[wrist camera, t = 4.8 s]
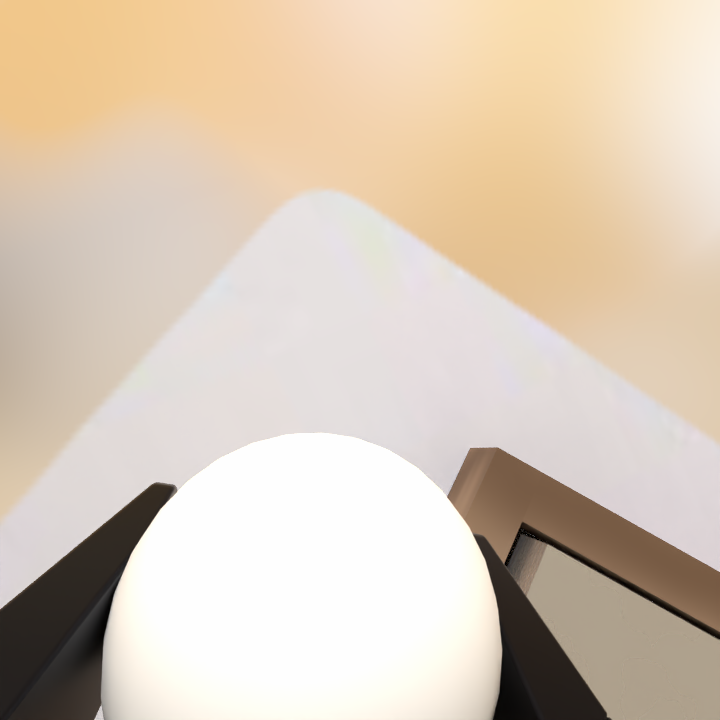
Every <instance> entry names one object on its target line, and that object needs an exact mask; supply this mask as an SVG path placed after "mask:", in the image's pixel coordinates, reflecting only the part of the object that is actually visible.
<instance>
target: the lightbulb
mask: <svg viewBox="0 0 720 720" xmlns="http://www.w3.org/2000/svg"><path fill="white" fill-rule="evenodd" d="M501 661H502V644H501V634H500V624H499V615H498V607H497V602H496V596H495V593H494V589H493V586H492V582H491V579H490V575H489V572H488V568H487V565H486V561H485V559H484V557H483V555H482V553H481V550H480V548H479V546H478V544H477V542H476V540H475V538H474V536H473V534H472V532H471V530H470V528H469V526H468V525H467V523H466V522H465V521H464V519H463V518H462V517H461V515H460V514H459V513H458V511H457V510H456V509H455V507H454V506H453V505H452V503H451V502H450V501H449V499H448V498H447V496H446V495H445V494H444V493H443V491H442V490H441V489H440V488H439V487H438V486H437V485H436V484H434V483H433V482H432V481H431V480H430V479H429V478H428V477H427V476H426V475H425V474H424V473H422V472H421V471H420V470H419V469H418V468H417V467H416V466H414V465H412V464H411V463H409V462H407V461H406V460H404V459H403V458H401V457H399V456H398V455H396V454H394V453H393V452H391V451H389V450H388V449H385V448H382V447H380V446H377V445H374V444H371V443H369V442H366V441H363V440H360V439H358V438H354V437H347V436H341V435H334V434H327V433H305V434H287V435H283V436H279V437H275V438H271V439H267V440H263V441H259V442H255V443H252V444H249V445H247V446H245V447H243V448H241V449H239V450H236V451H234V452H232V453H230V454H228V455H226V456H223V457H221V458H219V459H218V460H216V461H215V462H214V463H212V464H211V465H209V466H208V467H207V468H205V469H204V470H202V471H201V472H200V473H198V474H197V475H195V476H194V477H193V478H191V479H190V480H188V481H187V482H186V483H185V484H184V485H183V486H182V487H181V489H180V490H179V491H178V492H177V493H176V494H175V495H174V496H173V497H172V498H171V499H170V500H169V501H168V502H167V503H166V504H165V505H164V506H163V507H162V508H161V509H160V511H159V512H158V514H157V515H156V517H155V518H154V520H153V521H152V523H151V524H150V526H149V527H148V529H147V530H146V532H145V533H144V535H143V536H142V538H141V539H140V541H139V542H138V544H137V545H136V547H135V549H134V550H133V552H132V554H131V556H130V558H129V561H128V563H127V565H126V567H125V570H124V572H123V574H122V577H121V579H120V581H119V583H118V586H117V588H116V590H115V593H114V596H113V601H112V605H111V609H110V613H109V618H108V622H107V626H106V630H105V634H104V644H103V661H102V681H101V703H102V710H103V716H104V720H493V717H494V713H495V708H496V704H497V700H498V696H499V691H500V676H501Z"/></svg>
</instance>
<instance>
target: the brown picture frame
mask: <svg viewBox="0 0 720 720" xmlns="http://www.w3.org/2000/svg"><path fill="white" fill-rule="evenodd" d="M447 498H448V499H449V501H450V502H451V503H452V505H453V506H454V507H455V509H456V510H457V511H458V513H459V514H460V515H461V517H462V518H463V519H464V521H465V522H466V523H467V525H468V526H469V528H470V530H471V532H472V533H476V534H481V535H483V536H485V537H486V539H487V540H488V541H489V543H490V544H491V546H492V547H493V549H494V550H495V551H496V553H497V554H498V556H499V557H500V559H501V560H502V562H503V563H505V560H506V558H507V556H508V553H509V551H510V549H511V546H512V544H513V542H514V539H515V537H516V535H517V532H518V530H519V528H522V529H523V530H525V531H527V532H529V533H531V534H532V535H534V536H536V537H538V538H540V539H541V540H543V541H545V542H547V543H548V544H550V545H552V546H554V547H556V548H557V549H559V550H561V551H563V552H565V553H566V554H568V555H570V556H572V557H573V558H575V559H577V560H579V561H581V562H582V563H584V564H586V565H588V566H590V567H591V568H593V569H595V570H597V571H598V572H600V573H602V574H604V575H606V576H607V577H609V578H611V579H613V580H615V581H616V582H618V583H620V584H622V585H624V586H625V587H627V588H629V589H631V590H632V591H634V592H636V593H638V594H640V595H641V596H643V597H645V598H647V599H649V600H650V601H652V602H654V603H656V604H657V605H659V606H661V607H663V608H665V609H666V610H668V611H670V612H672V613H674V614H675V615H677V616H679V617H681V618H683V619H684V620H686V621H688V622H690V623H691V624H693V625H695V626H697V627H699V628H700V629H702V630H704V631H706V632H708V633H709V634H711V635H713V636H715V637H716V638H718V639H720V572H718V571H717V570H715V569H713V568H711V567H710V566H708V565H706V564H704V563H702V562H701V561H699V560H697V559H695V558H693V557H692V556H690V555H688V554H686V553H685V552H683V551H681V550H679V549H677V548H676V547H674V546H672V545H670V544H669V543H667V542H665V541H663V540H661V539H660V538H658V537H656V536H654V535H652V534H651V533H649V532H647V531H645V530H644V529H642V528H640V527H638V526H636V525H635V524H633V523H631V522H629V521H628V520H626V519H624V518H622V517H620V516H619V515H617V514H615V513H613V512H612V511H610V510H608V509H606V508H604V507H603V506H601V505H599V504H597V503H595V502H594V501H592V500H590V499H588V498H587V497H585V496H583V495H581V494H579V493H578V492H576V491H574V490H572V489H571V488H569V487H567V486H565V485H563V484H562V483H560V482H558V481H556V480H555V479H553V478H551V477H549V476H547V475H546V474H544V473H542V472H540V471H538V470H537V469H535V468H533V467H531V466H530V465H528V464H526V463H524V462H522V461H521V460H519V459H517V458H515V457H514V456H512V455H510V454H508V453H506V452H505V451H503V450H501V449H499V448H470V450H469V452H468V454H467V456H466V458H465V461H464V463H463V465H462V467H461V469H460V471H459V473H458V475H457V477H456V480H455V482H454V484H453V486H452V488H451V490H450V492H449V494H448V497H447Z"/></svg>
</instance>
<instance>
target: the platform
mask: <svg viewBox="0 0 720 720" xmlns="http://www.w3.org/2000/svg"><path fill="white" fill-rule="evenodd" d="M507 569H508V570H509V572H510V573H511V575H512V576H513V577H514V579H515V580H516V582H517V583H518V585H519V586H520V588H521V589H522V590H523V592H524V593H525V595H526V596H527V598H528V599H529V601H530V602H531V603H532V605H533V606H534V608H535V609H536V611H537V612H538V614H539V615H540V617H541V618H542V619H543V621H544V622H545V624H546V625H547V627H548V628H549V630H550V631H551V632H552V634H553V635H554V637H555V638H556V640H557V641H558V643H559V644H560V645H561V647H562V648H563V650H564V651H565V653H566V654H567V656H568V657H569V658H570V660H571V661H572V663H573V664H574V666H575V667H576V669H577V670H578V672H579V673H580V674H581V676H582V677H583V679H584V680H585V682H586V683H587V685H588V686H589V687H590V689H591V690H592V692H593V693H594V695H595V696H596V698H597V699H598V700H599V702H600V703H601V705H602V706H603V708H604V709H605V711H606V712H607V717H610V718H611V719H612V720H720V640H718V639H716V638H715V637H713V636H711V635H709V634H708V633H706V632H704V631H702V630H700V629H699V628H697V627H695V626H693V625H691V624H690V623H688V622H686V621H684V620H682V619H681V618H679V617H677V616H675V615H674V614H672V613H670V612H668V611H666V610H665V609H663V608H661V607H659V606H657V605H656V604H654V603H652V602H650V601H649V600H647V599H645V598H643V597H641V596H640V595H638V594H636V593H634V592H632V591H631V590H629V589H627V588H625V587H623V586H622V585H620V584H618V583H616V582H615V581H613V580H611V579H609V578H607V577H606V576H604V575H602V574H600V573H598V572H597V571H595V570H593V569H591V568H590V567H588V566H586V565H584V564H582V563H581V562H579V561H577V560H575V559H573V558H572V557H570V556H568V555H566V554H565V553H563V552H561V551H559V550H557V549H556V548H554V547H552V546H550V545H548V544H546V543H543V542H541V541H538V540H535V539H533V538H530V537H528V536H525V535H522V534H521V536H520V538H519V540H518V543H517V545H516V547H515V550H514V552H513V554H512V557H511V559H510V562H509V564H508V566H507Z"/></svg>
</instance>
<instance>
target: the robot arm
mask: <svg viewBox="0 0 720 720" xmlns="http://www.w3.org/2000/svg"><path fill="white" fill-rule="evenodd" d="M176 493H177V488H176V486H175V485H172V484H166V483H160V482H157V483H154V484H152V485H151V486H149V487H148V488H147V489H146V490H145V491H143V492H142V493H141V494H140V495H138V496H137V497H136V498H135V499H134V500H132V501H131V502H130V503H129V504H128V505H126V506H125V507H124V508H123V509H121V510H120V511H119V512H118V513H117V514H115V515H114V516H113V517H112V518H111V519H109V520H108V521H107V522H106V523H104V524H103V525H102V526H101V527H100V528H98V529H97V530H96V531H95V532H94V533H92V534H91V535H90V536H89V537H88V538H86V539H85V540H84V541H83V542H81V543H80V544H79V545H78V546H77V547H75V548H74V549H73V550H72V551H71V552H69V553H68V554H67V555H66V556H64V557H63V558H62V559H61V560H60V561H58V562H57V563H56V564H55V565H54V566H52V567H51V568H50V569H49V570H47V571H46V572H45V573H44V574H43V575H41V576H40V577H39V578H38V579H37V580H35V581H34V582H33V583H32V584H30V585H29V586H28V587H27V588H26V589H24V590H23V591H22V592H21V593H20V594H18V595H17V596H16V597H15V598H13V599H12V600H11V601H10V602H9V603H7V604H6V605H5V606H4V607H3V608H1V609H0V720H94V719H95V717H96V714H97V712H98V710H99V708H100V706H101V704H102V703H101V681H102V661H103V644H104V634H105V630H106V626H107V622H108V618H109V613H110V609H111V605H112V601H113V596H114V593H115V590H116V588H117V586H118V583H119V581H120V579H121V577H122V574H123V572H124V570H125V567H126V565H127V563H128V561H129V558H130V556H131V554H132V552H133V550H134V549H135V547H136V545H137V544H138V542H139V541H140V539H141V538H142V536H143V535H144V533H145V532H146V530H147V529H148V527H149V526H150V524H151V523H152V521H153V520H154V518H155V517H156V515H157V514H158V512H159V511H160V509H161V508H162V507H163V506H164V505H165V504H166V503H167V502H168V501H169V500H170V499H171V498H172V497H173V496H174V495H175V494H176ZM472 534H473V536H474V538H475V540H476V542H477V544H478V546H479V548H480V550H481V553H482V555H483V557H484V559H485V561H486V565H487V568H488V572H489V575H490V579H491V582H492V586H493V589H494V593H495V596H496V602H497V607H498V615H499V624H500V634H501V644H502V661H501V676H500V691H499V696H498V700H497V704H496V708H495V713H494V717H493V720H612V719H611V718H610V717H607V712H606V711H605V709H604V708H603V706H602V705H601V703H600V702H599V700H598V699H597V698H596V696H595V695H594V693H593V692H592V690H591V689H590V687H589V686H588V685H587V683H586V682H585V680H584V679H583V677H582V676H581V674H580V673H579V672H578V670H577V669H576V667H575V666H574V664H573V663H572V661H571V660H570V658H569V657H568V656H567V654H566V653H565V651H564V650H563V648H562V647H561V645H560V644H559V643H558V641H557V640H556V638H555V637H554V635H553V634H552V632H551V631H550V630H549V628H548V627H547V625H546V624H545V622H544V621H543V619H542V618H541V617H540V615H539V614H538V612H537V611H536V609H535V608H534V606H533V605H532V603H531V602H530V601H529V599H528V598H527V596H526V595H525V593H524V592H523V590H522V589H521V588H520V586H519V585H518V583H517V582H516V580H515V579H514V577H513V576H512V575H511V573H510V572H509V570H508V569H507V567H506V566H505V564H504V563H503V562H502V560H501V559H500V557H499V556H498V554H497V553H496V551H495V550H494V549H493V547H492V546H491V544H490V543H489V541H488V540H487V539H486V537H485V536H483V535H481V534H476V533H472Z"/></svg>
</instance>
